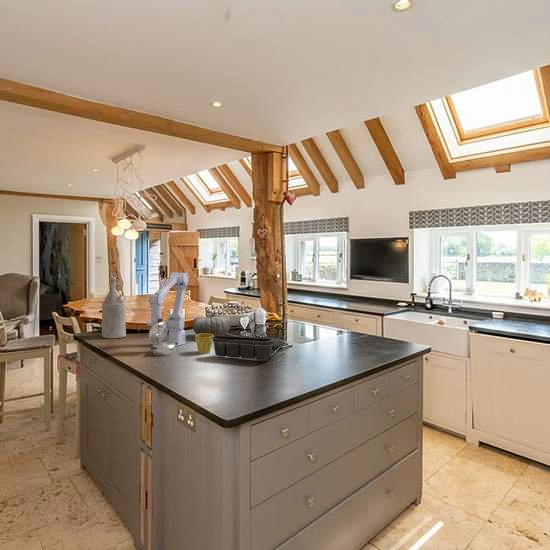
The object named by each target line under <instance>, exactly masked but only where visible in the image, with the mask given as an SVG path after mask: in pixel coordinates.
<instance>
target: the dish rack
mask: <svg viewBox="0 0 550 550" xmlns="http://www.w3.org/2000/svg"><path fill="white" fill-rule="evenodd" d="M280 337H281V335H280V333H279V332H278V331H275V332H274V333H273V334H270V332H269V330H266V331H265V332H263V333H262V334H261V332H260V331H259V330H256V331H254V332H252V333H251V331H250V330H249V329H248V330H245V331H243V332H242V331H241V330H240V329H238V330H237V329H236V330H235V331H233V332H231V333H230V334H226V335H224V336H213V337H212V339H213V340H212V341H213V342H212V343H213V347H214V354H215V355H216V356H217V357H224V358H225V357H227V358H237V359H239V358H241V359H251V360H254V359H257V360H269V359H270V358H271V357H272V356H273V357H274V354H275V353H276V352H277V351H278V350H279V349H280V348H282V347H283V345H285V344H286V341H287V340H286V339H285V340H281V338H280ZM273 349H274V351H273ZM271 359H272V358H271Z"/></svg>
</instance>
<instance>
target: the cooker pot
mask: <svg viewBox="0 0 550 550" xmlns="http://www.w3.org/2000/svg"><path fill="white" fill-rule="evenodd" d="M176 345H177V346H179V345H178V343H176V342H175V343H173V342H169V341H161V342H159V343H153V344H152V347H151V346H150V347H149V350H150V351H152V354H153V355H154V356H157V357H158V356H159V357H166V356H167V357H168V356H174V355H175V354H176Z"/></svg>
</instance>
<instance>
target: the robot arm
mask: <svg viewBox="0 0 550 550" xmlns="http://www.w3.org/2000/svg"><path fill="white" fill-rule="evenodd" d="M188 283H189V275H188V273H187V272H171V273H170V274H169V279H168V280H167V282H165V284H164V285H162V286H160V287H159V288H158V289H157V290H156V291H155V293H154V294H151V295H150V296H149V299H148V303H149V307H150V321H146V326H149V330H150V329H151V327H152V326H153V325H154V324H156V323H158V318H162V305H163V304H164V302H165V299H166V297H167V296H168V294H169V293H170V289H171V288H172V287H173V286H174V287H175V288H176V292H175V293H176V294H175V298H174V303H173V308H172V313H171V314H170V315H168V317H167V320H166V323H165V324H166V325H167V327H168V342H173V343H175V342H176V343H178V345H176V346H177V347H178V346H180V345H186V344H187V342H186V331H185V329H184V327H185V317H184V316H183V315H182V311H183V307H184V300H185V295H186V291H187V290H186V289H187V287H188ZM165 324H160V325H157V326H160V327H159V328H166V325H165ZM176 346H175V347H176Z"/></svg>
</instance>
